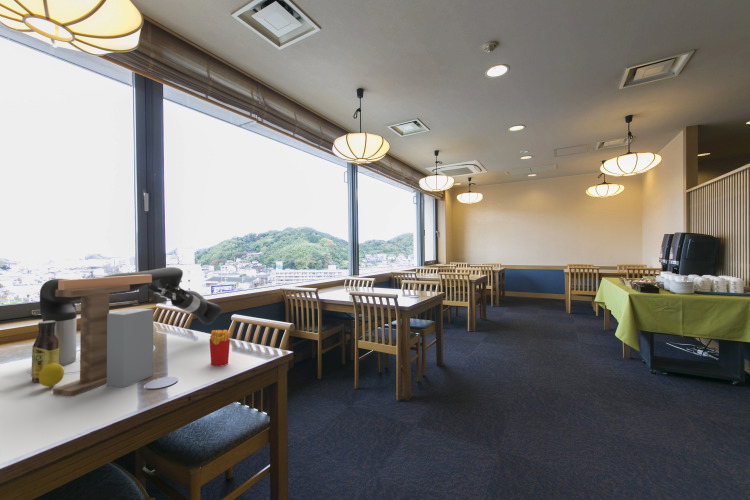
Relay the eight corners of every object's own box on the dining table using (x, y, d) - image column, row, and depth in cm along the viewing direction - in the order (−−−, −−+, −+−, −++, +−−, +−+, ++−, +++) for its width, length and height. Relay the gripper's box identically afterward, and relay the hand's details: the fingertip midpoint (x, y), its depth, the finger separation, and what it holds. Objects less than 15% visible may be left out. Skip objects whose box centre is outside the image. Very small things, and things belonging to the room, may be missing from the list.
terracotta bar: (58, 289, 92) (58, 280, 92) (146, 282, 117) (146, 274, 117) (64, 290, 91) (64, 280, 91) (151, 282, 116) (151, 274, 116)
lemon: (47, 392, 93) (47, 366, 93) (33, 390, 94) (34, 365, 94) (68, 384, 98) (68, 360, 98) (55, 383, 99) (55, 358, 100)
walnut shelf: (53, 393, 92) (54, 289, 92) (112, 372, 108) (113, 284, 109) (72, 396, 90) (73, 290, 90) (130, 374, 107) (130, 284, 107)
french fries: (206, 363, 116) (207, 330, 117) (216, 360, 120) (216, 328, 121) (224, 367, 113) (224, 333, 113) (233, 363, 117) (233, 330, 117)
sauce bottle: (27, 381, 101) (28, 322, 101) (52, 374, 106) (53, 318, 107) (37, 384, 98) (37, 324, 98) (62, 377, 104) (63, 320, 104)
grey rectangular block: (106, 385, 97) (107, 313, 98) (137, 373, 107) (137, 308, 107) (123, 387, 96) (123, 314, 96) (152, 375, 106) (153, 309, 106)
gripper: (196, 309, 130) (167, 295, 117) (169, 308, 134) (138, 294, 120) (202, 293, 134) (176, 278, 121) (176, 293, 137) (147, 277, 124)
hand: (157, 286), depth 120 cm, fingers open, 8 cm apart
